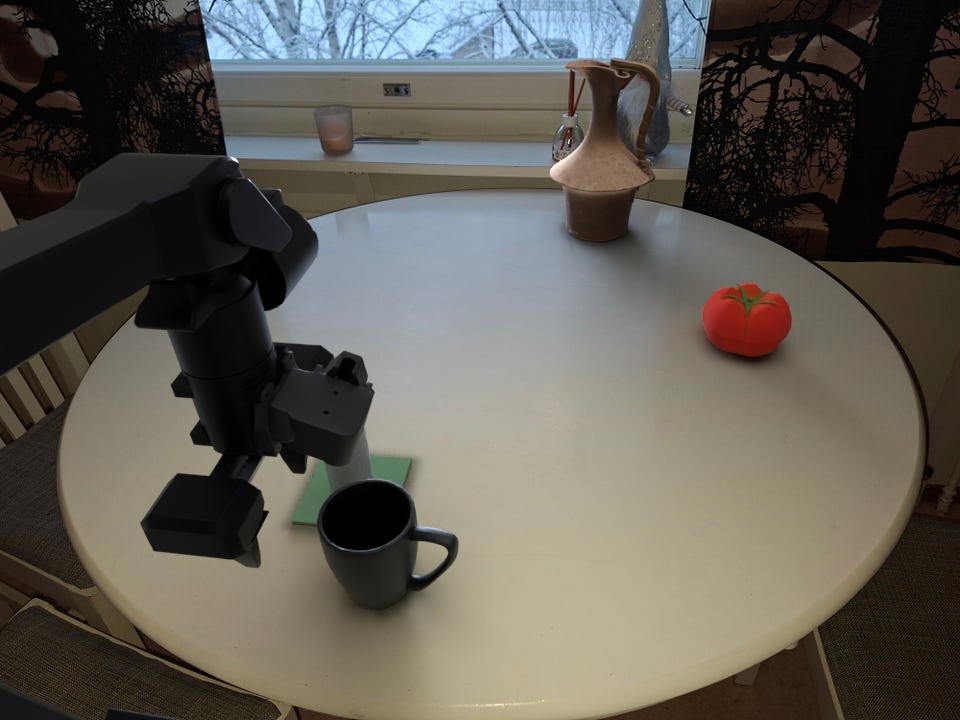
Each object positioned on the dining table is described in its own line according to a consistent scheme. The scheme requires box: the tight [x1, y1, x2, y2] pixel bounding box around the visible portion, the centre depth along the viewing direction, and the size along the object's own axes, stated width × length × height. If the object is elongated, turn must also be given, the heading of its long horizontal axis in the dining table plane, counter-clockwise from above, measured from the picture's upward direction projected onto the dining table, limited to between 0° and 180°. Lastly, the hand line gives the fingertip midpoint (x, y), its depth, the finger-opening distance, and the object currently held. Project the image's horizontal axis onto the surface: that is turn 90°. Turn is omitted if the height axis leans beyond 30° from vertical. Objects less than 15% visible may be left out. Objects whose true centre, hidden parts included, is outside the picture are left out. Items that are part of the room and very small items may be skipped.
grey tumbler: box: [324, 425, 374, 494], centre depth 68 cm, size 4×4×10 cm
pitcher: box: [549, 57, 661, 242], centre depth 111 cm, size 18×17×28 cm
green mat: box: [291, 454, 413, 527], centre depth 71 cm, size 10×10×1 cm
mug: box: [316, 479, 460, 611], centre depth 59 cm, size 8×12×10 cm
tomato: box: [701, 282, 793, 357], centre depth 88 cm, size 11×11×8 cm
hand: (278, 515), depth 52 cm, fingers open, 9 cm apart
